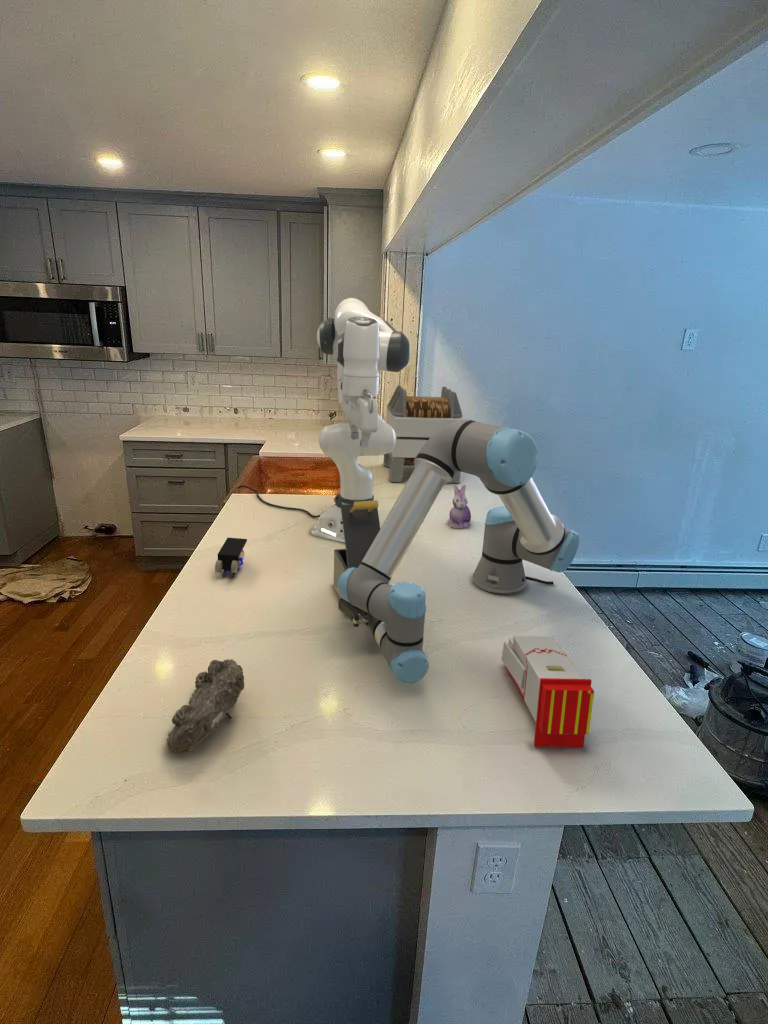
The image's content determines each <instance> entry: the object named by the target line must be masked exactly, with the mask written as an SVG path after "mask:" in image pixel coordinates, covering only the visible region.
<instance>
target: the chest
mask: <svg viewBox="0 0 768 1024" xmlns="http://www.w3.org/2000/svg"><path fill="white" fill-rule="evenodd" d="M347 569H348V563H347V555H346V548H339V549H338V548H336V549H334V550H333V588H334V590H335V592H336V594H337V596H338V599H342V597H341V596H340V595H339V593H338V588H337V586H338V581H339V578H340V576H341V575H342V573H344V572H345V571H346V570H347Z"/></svg>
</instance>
